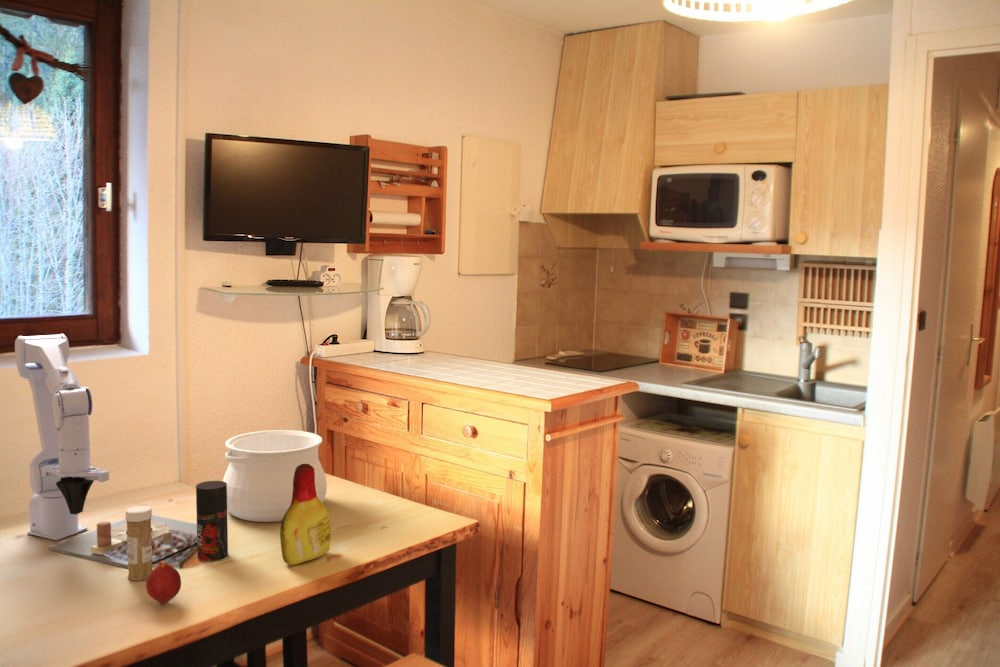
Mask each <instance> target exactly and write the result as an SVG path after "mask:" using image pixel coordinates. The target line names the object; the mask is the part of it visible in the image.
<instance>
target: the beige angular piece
mask: <svg viewBox="0 0 1000 667" xmlns="http://www.w3.org/2000/svg"><path fill="white" fill-rule="evenodd" d="M111 524H112V523H111V521H100V522H98V523H96V530H97V544H96V545H94V546H91V553H95V554H100V555H104V554H106V553H108V552H109V551H112V550H114V549H115V548H118V547H120V546H122V545H126V544H127V524H126V525H123V526H120V527H118V528H115V529H112V531H111ZM165 531H169V526H168V525H167V524H163V523H158V522H151V535H152V541H154V540H156V539H158V538H160V537H163V532H165Z"/></svg>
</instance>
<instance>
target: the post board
mask: <svg viewBox="0 0 1000 667" xmlns="http://www.w3.org/2000/svg"><path fill="white" fill-rule="evenodd" d="M126 521H127V520H126V518H124V519H123V520H120V521H117V522H114V523H111V531H112V529H115V528H118V527H120V526H123V525H126V524H127V522H126ZM151 522H158V523H163V524H167V525H168V526H169V530H181V531H186V532H189V533H192V534H194V535H196V536H197V523H193V522H188V521H184V520H183V521H182V520H176V519H173V518H168V517H161V516H157V515H153V514H152V517H151ZM96 544H97V529H95V530H92V531H89V532H87V533H85V534H82V535H79V536H76V537H74V538H71V539H68V540H65V541H63V542H60V543H57V544H54V545H52V546H50V548H49V550H50V551H54V552H58V553H61V554H66V555H70V556H74V557H80V558H84V559H87V560H88V559H89V560H91V561H92V560H93V561H97V562H101V563H104V564H109V565H114V566H117V567H122V568H126V569H128V561H118V560H115V559H111V558H109V557H107V556H105V555H100V554H95V553H91V546H94V545H96Z"/></svg>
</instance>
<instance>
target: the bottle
mask: <svg viewBox="0 0 1000 667" xmlns="http://www.w3.org/2000/svg"><path fill="white" fill-rule="evenodd" d="M280 522H281V523H280V529H279V530H280V531H279V533H280V534H279V539H280V549H281V555H282V556H281V557H282V559H283V562H284V563H285V564H287V565H289V566H294V565H295V566H296V565H299V564H301V563H304V562H308V561H311V560H315V559H317V558H318V559H319V557H321V556H324V555H325V554H326V553H327V552H329V550H330V545H331V541H332V540H331V535H332V534H331V531H332V530H331V522H330V515H329V511H328V509H327V507H326V506H325V504H324V502H323V503H322V502H321V501H320V500H319V499H318V498H317V495H316V488H315V472H314V468H313V467H312V466H311V465H309V464H301V465H299V466H297V468H296V469H295V473H294V478H293V494H292V502H291V505H290V507H289V509H288V510H287V511H286V513H285V515H284V517H283V519H282V521H280Z"/></svg>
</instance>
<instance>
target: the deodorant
mask: <svg viewBox="0 0 1000 667" xmlns="http://www.w3.org/2000/svg"><path fill="white" fill-rule="evenodd" d="M195 496H196V497H195V498H196V499H195V502H196V524H197V545H196V546H197V547H196V549H197V550H196V551H197V552H196V553H197V557H196V558H197V560H198V559H199V560H198V561H200V562H205V563H213V562H218V561H223V560H224V559H227V557H228V556H229V543H228V542H229V541H228V540H229V538H228V536H229V534H228V533H229V532H228V510H227V483H226V482H223V480H209V481H202V482H199V483H198V484H196V486H195Z"/></svg>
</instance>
